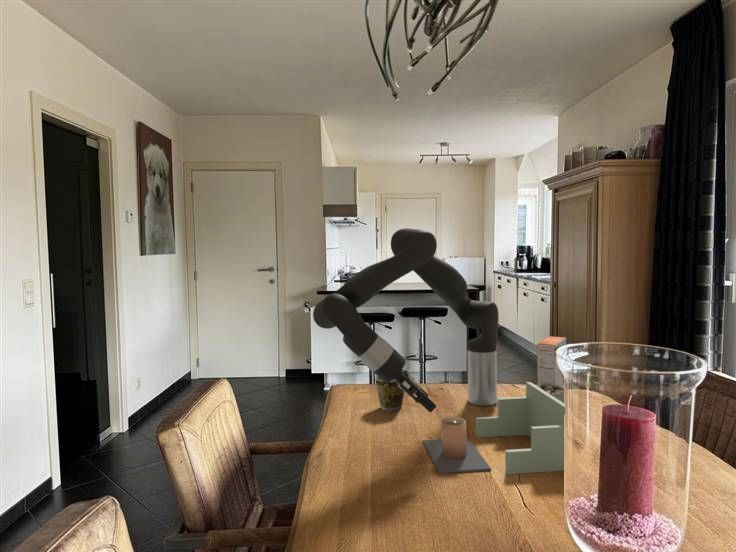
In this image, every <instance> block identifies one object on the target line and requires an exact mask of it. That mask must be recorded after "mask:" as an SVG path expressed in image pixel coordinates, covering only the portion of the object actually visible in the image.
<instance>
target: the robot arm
mask: <svg viewBox="0 0 736 552" xmlns="http://www.w3.org/2000/svg"><path fill="white" fill-rule="evenodd" d="M437 244H438V243H437V238H436V237H435V235H434V234H433V233H432V232H430V231H428V230H425V229H419V228H417V229H416V228H400V229H398V230H396V231H395V232H394V233H393V234H392V236H391V240H390V248H391V252H392V254H393V255H392V256H391V257H388V258H387V259H383V260H381V261H378V262H376V263H373V264H371V265H369V266H367V267H365V268H363V269H362V270H361V269H360V270H359V271H358V272H357V273H355V275H353V276H351V277H350V278H349V279H348V280H347V281H346V282H345V283H343V285H341V287H339V288H338V289H336V290H335V291H334V292H332V293H330V294H328V295H326V296H325V297H324V298H323V299H321V300H320V301H319V302H317V304H316V305H315V306H314V309H313V312H312V318H313V322H314V323H315V324H316V325H317V326H318V327H320V328H321V329H326V330H329V329H333V328H335V327H336V328H337V329H338V330H339V333H341V334H342V335H343V336H342V341H343V343H344V345H345V346H346V347H347V348H348V349H349V350H350V351H351V352H353V354H354V355H355V356H356V357H358V359H360V360H361V362H362V363H363V364H364V365H365V366H366V367H367V368H368V369H369V370H370V371H371V372H372V373H373V374H374V375H375V376H378V377H379V378H380V379H381V380H382V381H383V382H385V383H388V382H390V381H391V380H392V379H396V381H395V382H396V383H397V386H398V387H399V388H401V389H403V390H404V393H405V394H406V395H407V396H409V397H411V399H413V400H414V402H415V403H417V404H420V405H421V406H422V407H423V408H424V409H426V410H427V411H428V413H432V412H434V410H435V409H436V408H437V405H436V403H435V402H433V401H432V399H430V397H429V393H428V392H427V391H425V389H423V388H422V387H421V385H420V384H419V383H418V382H417V381H416V379H415V377H414V376H413V375H412V374H411V373H410V372H409V370H407V369H404V367H405V365H406V361H407V360H406V358H405V357H404V356H402V354H400V352H398V351H397V350H396V349H395V348H394V347H393V346H392V345H391V344H390V343H389V342H388V341H386V339H384V338H383V337H381V336H380V335H379V334H378V333H377V332H375V330H374V329H372V328H371V326H369V325H368V324H367V323H366V322H365V320H364V319H363V317H362V315H361V314H360V312H359V311H358V310H357V309H358V308H360V307H361V306H363V305H365V304H366V303H368V302H369V301H370V300H371V299H372V298H374V297H375V296H376V295H378V293H380V292H381V291H383V290H384V289H385V288H386V287H388V286H389V285H391V284H393V283H394V282H395V281H397V280H399V279H400V278H402V277H404V276H405V275H408V274H409V273H411V272H414V273H415V274H416V275H417V276H418V277H419V278H420V279H421V280H422V281H423V282H424V283H425V284H426V285H427V286H428V287H429V288H430V289H431V290H432V291H433V292H434V293H435V294H436V295H437V296H438V297H439V298H440V299H442V300H443V301H444V302H445V303H446V305H448V307H449V308H450V309H452V311H453V312H454V313H455V315H456V316H457V318H458V319H460V321H461V323H462V324H463V325H465V327H467V328H468V329H469V328H470V329H474V330H481V334H480V336H479V337H477V338H476V337H475V338H472V339H470V340H468V342H467V400H468V403H470V404H471V405H475V406H483V407H484V406H486V407H487V406H493V405H496V404H498V382H497V381H498V379H497V377H498V376H497V374H498V373H497V371H498V370H497V345H498V341H499V340H498V339H499V338H498V337H499V317H500V316H499V308H498V306H497V304H496V303H495V302H494V301H485V300H472V299H470V298H469V297H468V296H467V292H468V283H467V281H466V279H465V278H464V276H463V275H462V274H461V273H460V272H459V270H457V269H456V268H455V267H454V266H453V265H451V264H449V263H448V262H446V261H445V260H443V259H440V258H439V257H437V256H435V254H436V251H437V249H438V248H437V247H438V246H437Z"/></svg>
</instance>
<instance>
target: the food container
mask: <svg viewBox="0 0 736 552" xmlns="http://www.w3.org/2000/svg"><path fill="white" fill-rule="evenodd" d="M541 389H542V390H544V391H545V392H547V393H549V394H550V395H552V396H553V397H555V398H556V399H558V400H560V401H561V402H563V403H564V404H565V402H564V388H562V387H560V386H557V385H553V384H546V383H541Z"/></svg>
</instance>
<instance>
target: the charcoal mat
mask: <svg viewBox="0 0 736 552" xmlns="http://www.w3.org/2000/svg"><path fill="white" fill-rule="evenodd" d="M422 443H423V444H424V447H425V448H426V451H427V453H428V454H429V457H430V459H431V461H432V463H433V465H434V467H435V468H436V471H437V470H438V471H437V473H438V472H439V473H438V474H440V473H444V474H455V473H457V474H458V473H471V472H490V471H492V467H491V466H490V465H489V463H488V462H487V461H486V460H485V458H484V456H483V455H482V454H481V453H480V452H479V451H478V449H477V448H476V447H475V445H474V444H473V443H472V442H471V440H470V439H469V437H466V446H467V455H466V456H465V457H463V458H459V459H452V458H447V457H445V456H443V455H442V443H441V439H424V440H422ZM440 475H441V474H440Z"/></svg>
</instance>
